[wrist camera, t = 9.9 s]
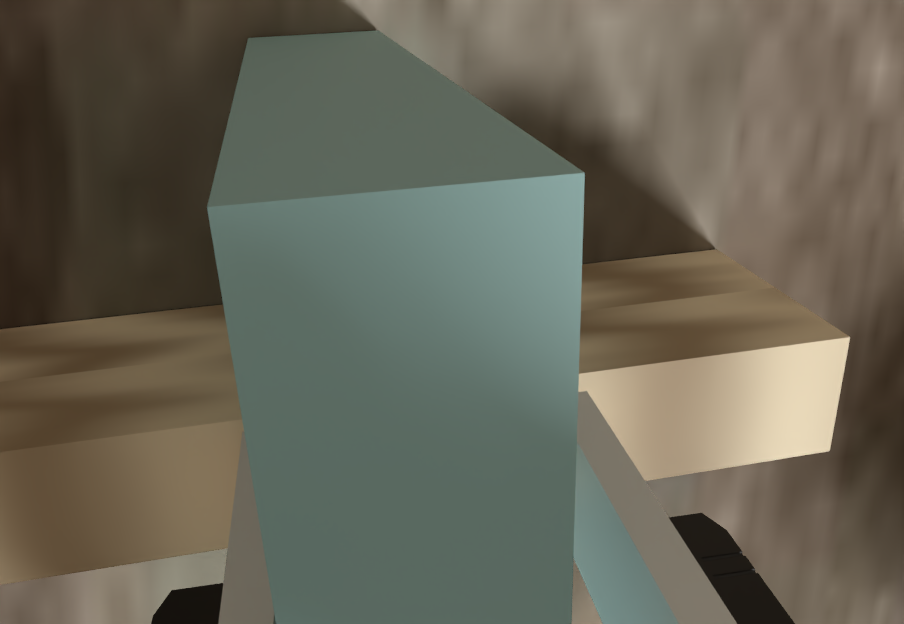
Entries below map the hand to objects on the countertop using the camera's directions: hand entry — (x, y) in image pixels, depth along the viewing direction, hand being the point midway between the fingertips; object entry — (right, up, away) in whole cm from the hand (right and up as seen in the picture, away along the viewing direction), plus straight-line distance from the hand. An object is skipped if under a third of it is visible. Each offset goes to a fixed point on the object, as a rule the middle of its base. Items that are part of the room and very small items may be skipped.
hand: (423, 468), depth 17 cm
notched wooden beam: (-3, +2, +6) cm, 7 cm away
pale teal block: (-2, +2, +6) cm, 7 cm away
